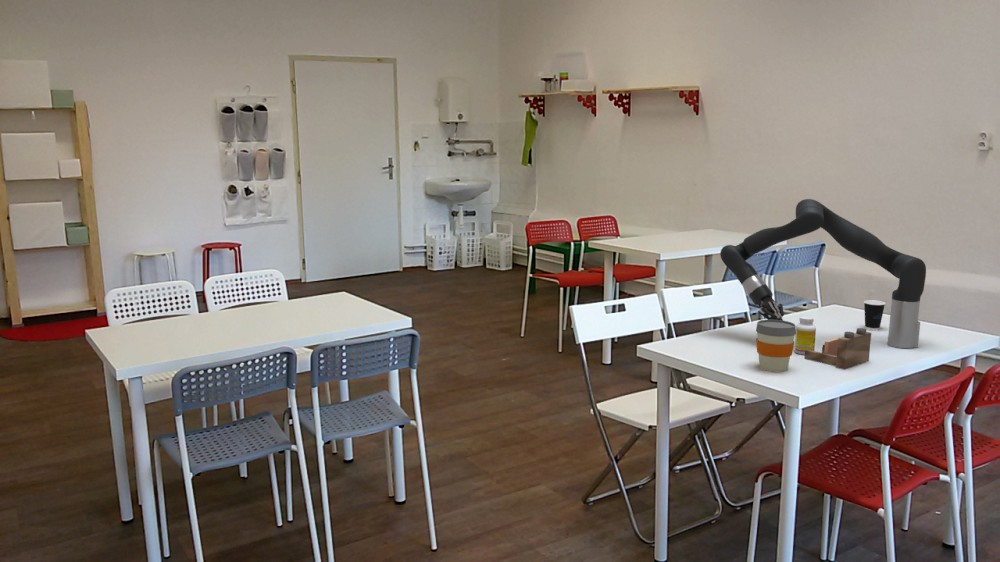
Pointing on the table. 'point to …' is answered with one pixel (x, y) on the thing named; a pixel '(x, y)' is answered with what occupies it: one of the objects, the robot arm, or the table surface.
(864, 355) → the cradle
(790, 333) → the reusable coffee cup
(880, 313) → the dixie cup
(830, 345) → the plate
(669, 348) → the table surface
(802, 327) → the supplement bottle
